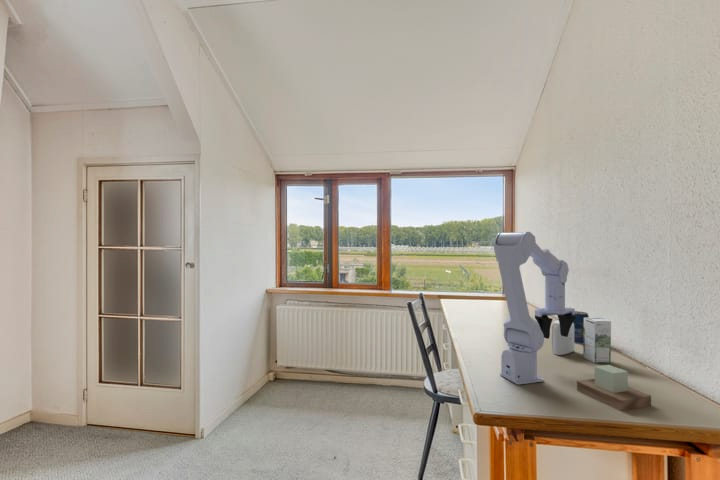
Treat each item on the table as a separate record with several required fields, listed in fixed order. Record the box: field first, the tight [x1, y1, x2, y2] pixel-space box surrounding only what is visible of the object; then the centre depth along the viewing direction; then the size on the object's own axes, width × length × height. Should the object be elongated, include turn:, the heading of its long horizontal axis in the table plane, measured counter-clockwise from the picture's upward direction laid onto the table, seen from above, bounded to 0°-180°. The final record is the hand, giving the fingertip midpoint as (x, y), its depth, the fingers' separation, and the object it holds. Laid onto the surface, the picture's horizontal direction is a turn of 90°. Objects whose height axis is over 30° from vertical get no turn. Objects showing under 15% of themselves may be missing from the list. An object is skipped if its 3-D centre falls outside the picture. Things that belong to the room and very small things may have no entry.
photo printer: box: [551, 319, 575, 356], centre depth 127 cm, size 10×4×12 cm, turn 123°
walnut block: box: [576, 378, 652, 412], centre depth 90 cm, size 10×12×3 cm
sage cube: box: [594, 364, 629, 393], centre depth 90 cm, size 5×5×5 cm
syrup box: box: [582, 316, 612, 364], centre depth 118 cm, size 6×6×14 cm
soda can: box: [572, 310, 590, 345], centre depth 140 cm, size 7×7×12 cm
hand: (555, 336), depth 113 cm, fingers open, 7 cm apart
